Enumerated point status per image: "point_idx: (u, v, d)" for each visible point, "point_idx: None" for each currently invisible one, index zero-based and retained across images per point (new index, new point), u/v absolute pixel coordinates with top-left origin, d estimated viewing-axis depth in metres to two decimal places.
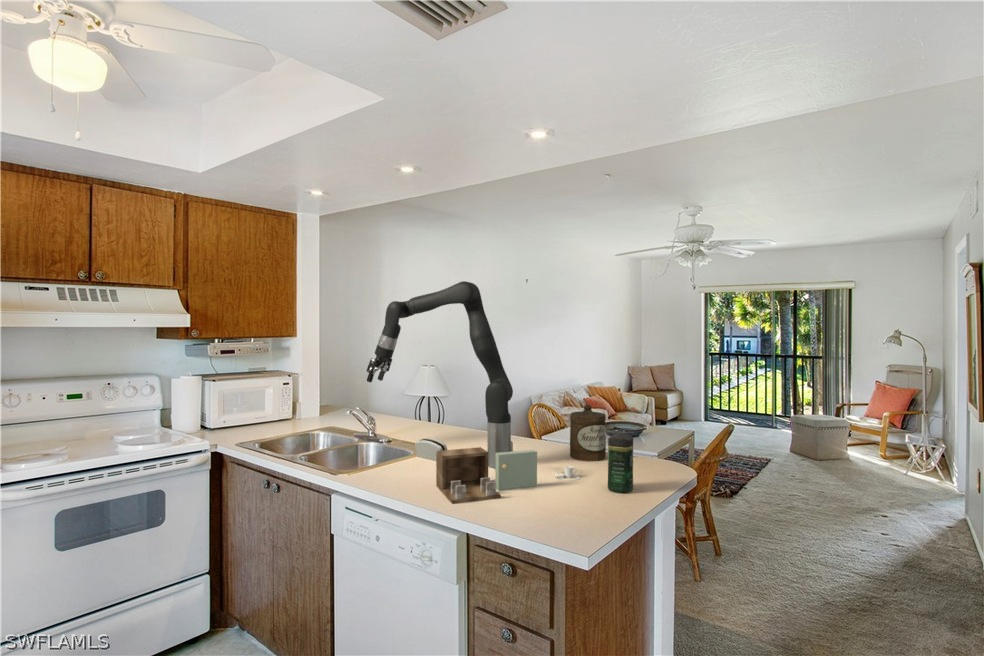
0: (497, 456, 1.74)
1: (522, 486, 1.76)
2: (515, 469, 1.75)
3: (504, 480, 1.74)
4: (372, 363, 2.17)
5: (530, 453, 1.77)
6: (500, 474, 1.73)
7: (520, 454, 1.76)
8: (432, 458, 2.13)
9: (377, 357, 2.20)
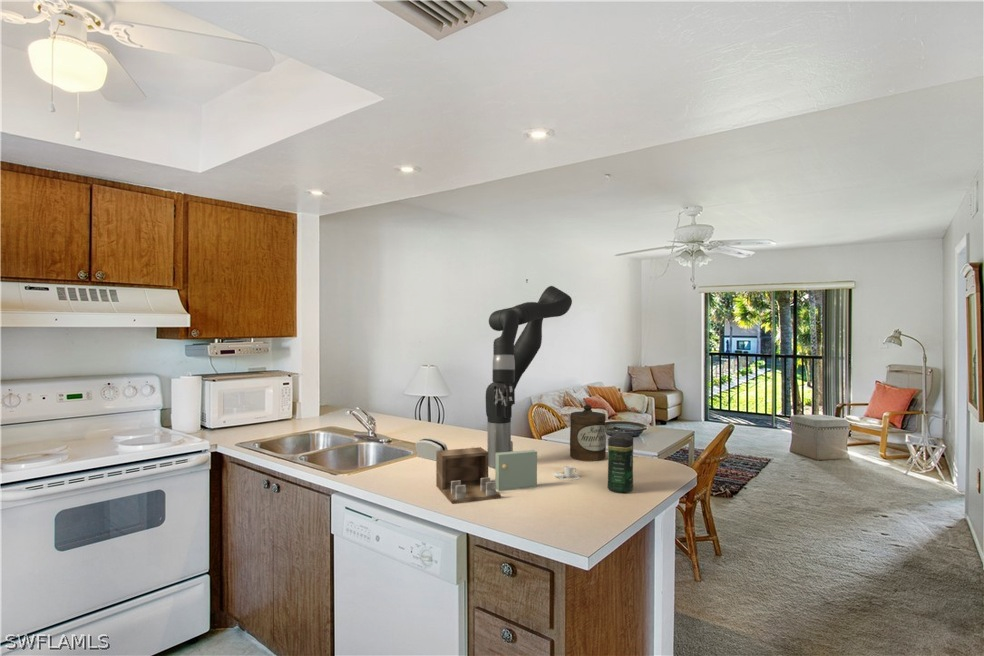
0: (497, 456, 1.74)
1: (522, 486, 1.76)
2: (515, 469, 1.75)
3: (504, 480, 1.74)
4: (511, 391, 1.69)
5: (530, 453, 1.77)
6: (500, 474, 1.73)
7: (520, 454, 1.76)
8: (432, 458, 2.13)
9: (507, 384, 1.72)
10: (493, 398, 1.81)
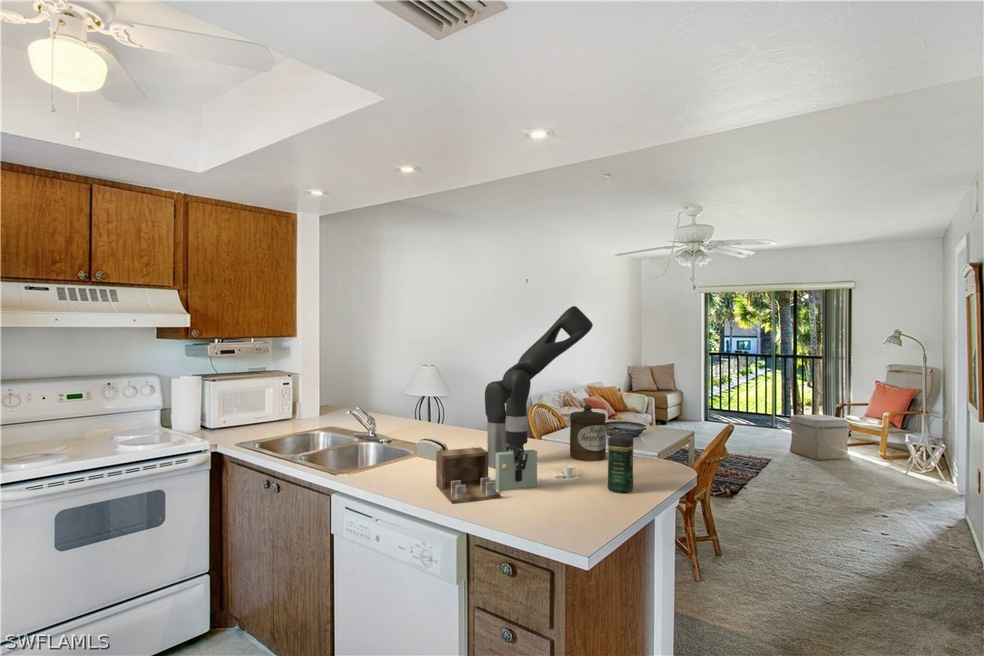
0: (497, 456, 1.74)
1: (522, 486, 1.76)
2: None
3: (504, 480, 1.73)
4: (524, 459, 1.71)
5: (530, 453, 1.77)
6: (500, 474, 1.73)
7: None
8: (433, 458, 2.13)
9: (520, 446, 1.73)
10: None
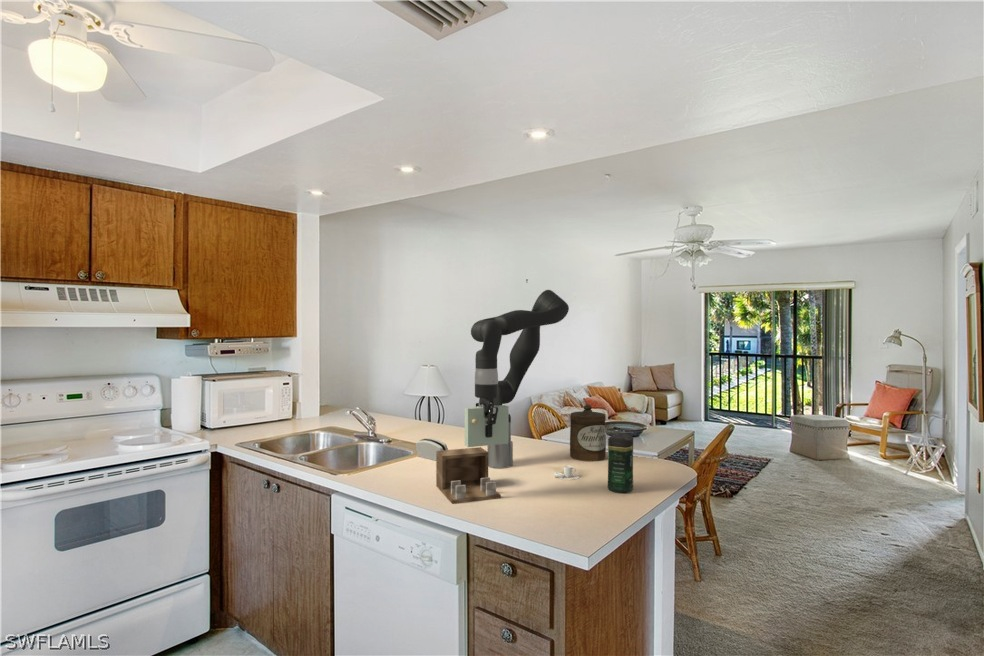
0: (466, 410, 1.65)
1: (493, 442, 1.67)
2: (485, 425, 1.66)
3: (474, 436, 1.64)
4: (494, 413, 1.62)
5: (501, 408, 1.68)
6: (469, 429, 1.64)
7: None
8: (433, 458, 2.13)
9: (490, 399, 1.64)
10: None
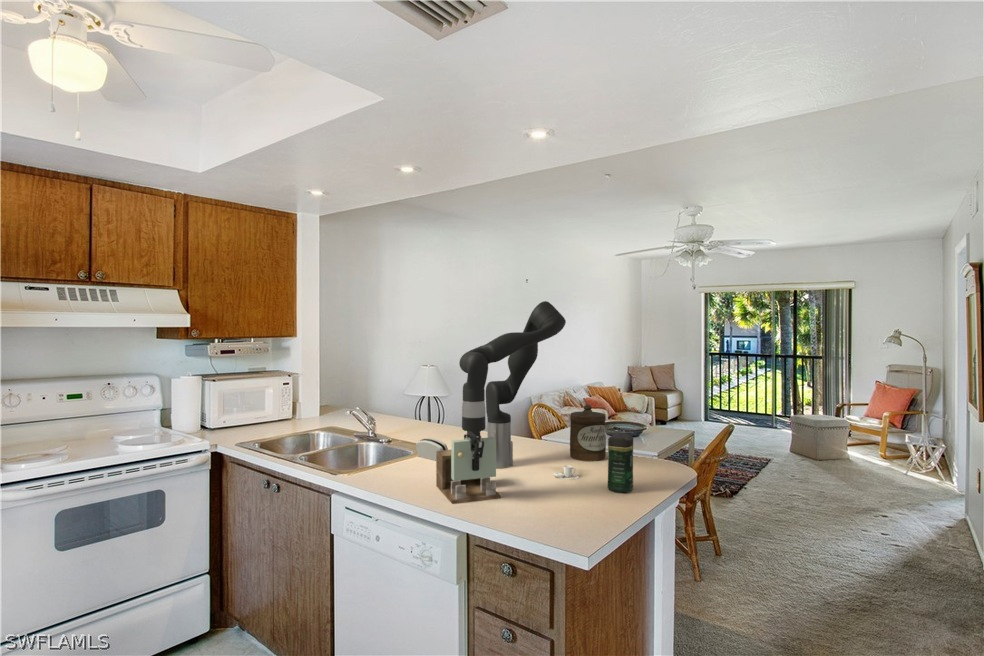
0: (453, 444, 1.63)
1: (480, 476, 1.65)
2: None
3: (460, 469, 1.63)
4: (480, 447, 1.61)
5: (488, 441, 1.66)
6: (455, 463, 1.62)
7: None
8: (433, 458, 2.13)
9: (477, 433, 1.63)
10: None
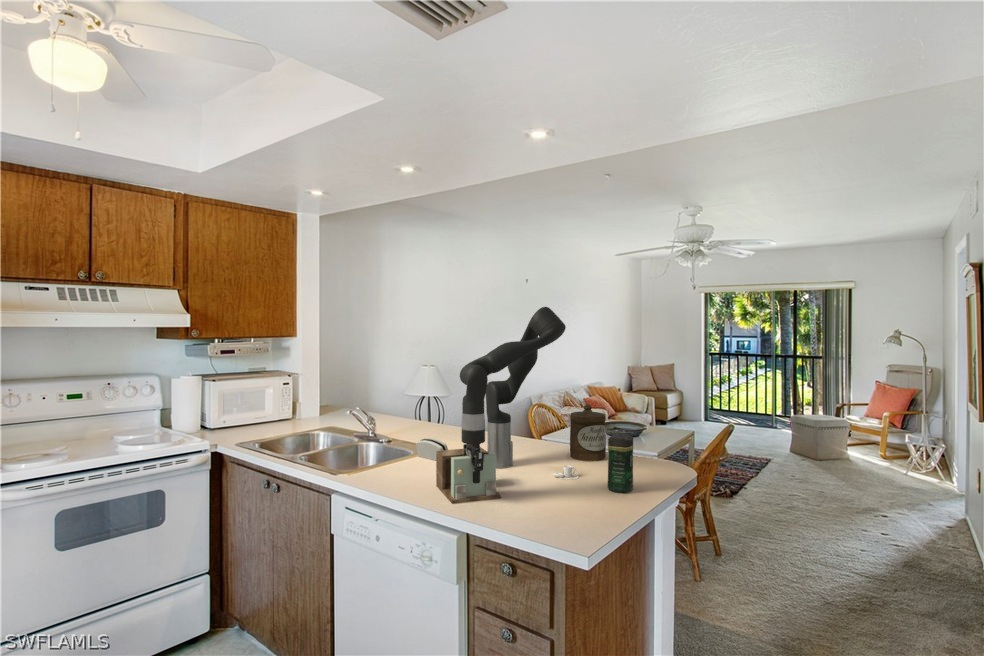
0: (452, 461, 1.63)
1: (479, 493, 1.65)
2: (472, 475, 1.64)
3: None
4: (480, 458, 1.60)
5: (488, 457, 1.66)
6: (455, 480, 1.62)
7: None
8: (433, 458, 2.13)
9: (476, 446, 1.63)
10: None
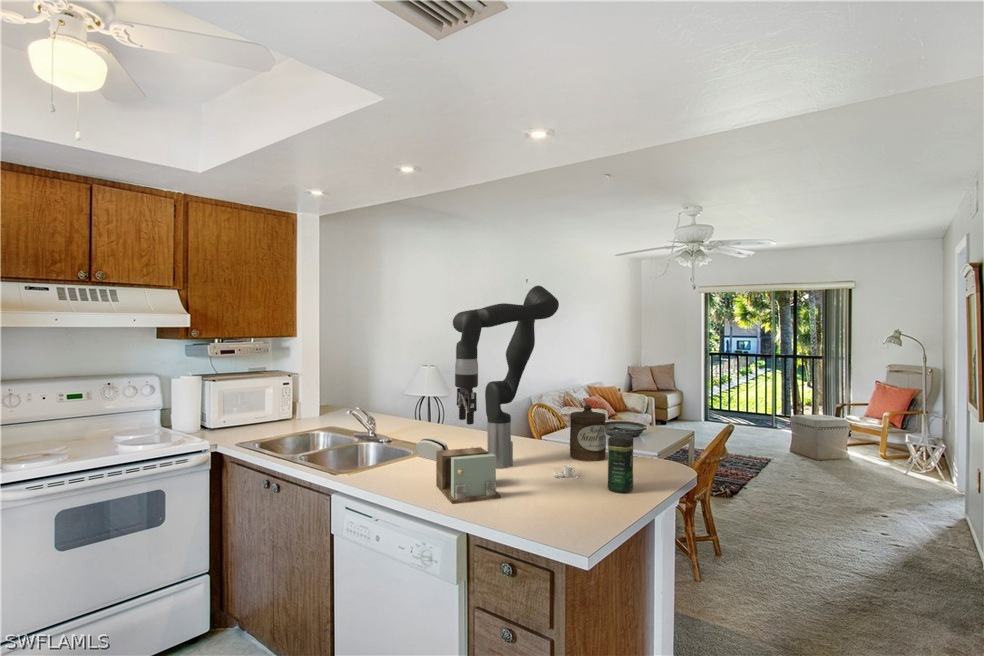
0: (452, 461, 1.63)
1: (479, 493, 1.65)
2: (472, 475, 1.64)
3: None
4: (473, 398, 1.65)
5: (488, 457, 1.66)
6: (455, 480, 1.62)
7: (477, 458, 1.65)
8: (433, 458, 2.13)
9: (469, 389, 1.67)
10: (457, 400, 1.77)
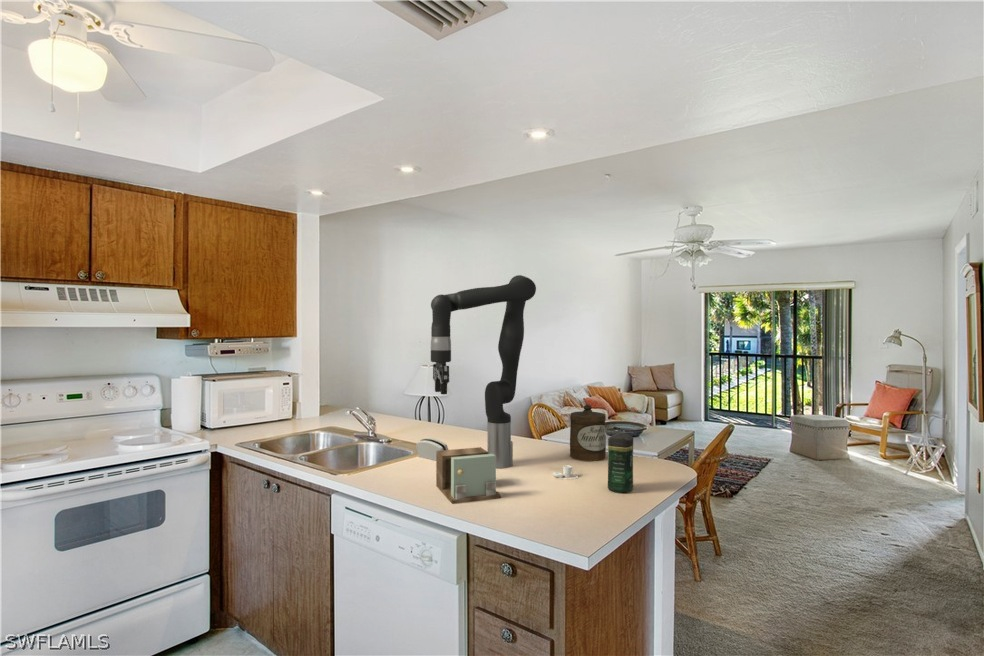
0: (452, 461, 1.63)
1: (479, 493, 1.65)
2: (472, 475, 1.64)
3: None
4: (446, 370, 1.86)
5: (488, 457, 1.66)
6: (455, 480, 1.62)
7: (477, 458, 1.65)
8: (433, 458, 2.13)
9: (443, 363, 1.89)
10: (433, 375, 1.98)
